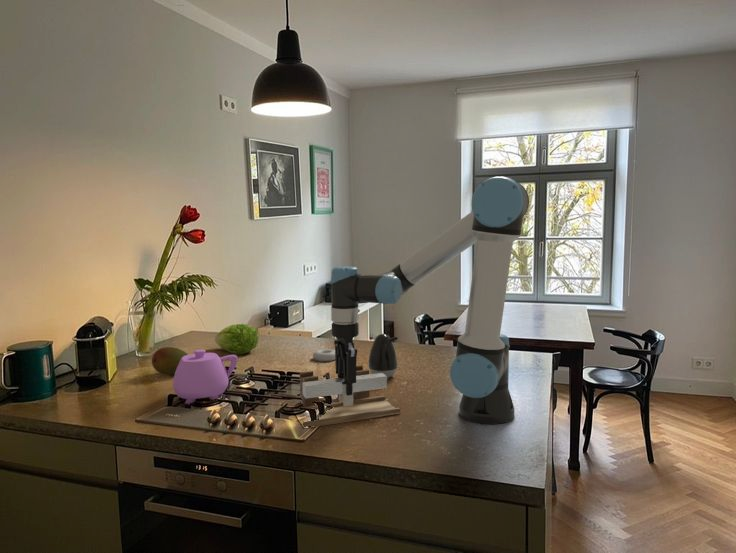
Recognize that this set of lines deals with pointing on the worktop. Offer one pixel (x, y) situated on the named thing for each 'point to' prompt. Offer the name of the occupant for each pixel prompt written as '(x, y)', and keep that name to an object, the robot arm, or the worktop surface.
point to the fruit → (167, 359)
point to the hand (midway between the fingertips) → (345, 402)
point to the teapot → (202, 375)
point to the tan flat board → (354, 411)
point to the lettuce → (237, 338)
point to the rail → (336, 385)
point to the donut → (324, 355)
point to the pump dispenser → (383, 356)
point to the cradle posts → (309, 377)
